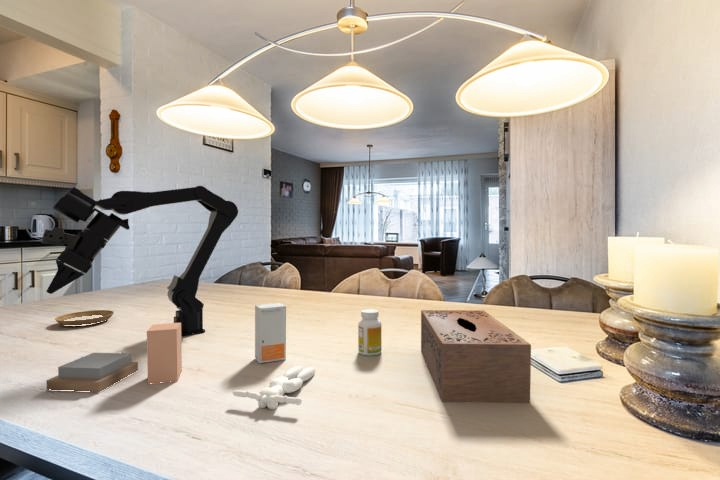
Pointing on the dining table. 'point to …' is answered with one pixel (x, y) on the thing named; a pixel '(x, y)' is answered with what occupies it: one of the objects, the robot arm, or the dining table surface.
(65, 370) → the tower top slab
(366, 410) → the dining table surface
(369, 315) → the supplement bottle
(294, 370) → the decorative figure
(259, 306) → the skincare box
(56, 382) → the tower base slab
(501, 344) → the tissue box cover
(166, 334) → the terracotta block
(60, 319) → the plant saucer
